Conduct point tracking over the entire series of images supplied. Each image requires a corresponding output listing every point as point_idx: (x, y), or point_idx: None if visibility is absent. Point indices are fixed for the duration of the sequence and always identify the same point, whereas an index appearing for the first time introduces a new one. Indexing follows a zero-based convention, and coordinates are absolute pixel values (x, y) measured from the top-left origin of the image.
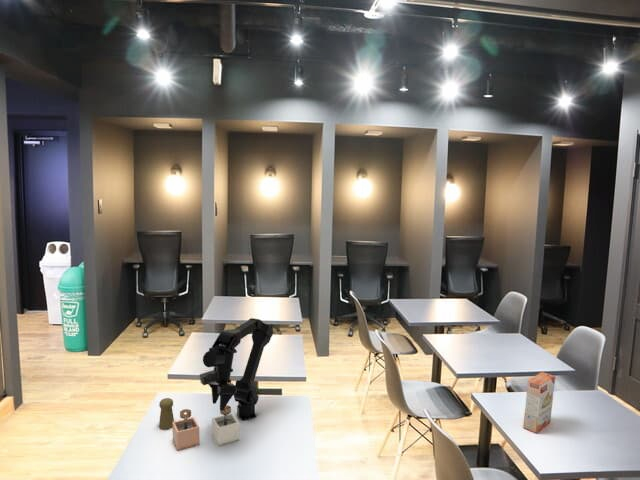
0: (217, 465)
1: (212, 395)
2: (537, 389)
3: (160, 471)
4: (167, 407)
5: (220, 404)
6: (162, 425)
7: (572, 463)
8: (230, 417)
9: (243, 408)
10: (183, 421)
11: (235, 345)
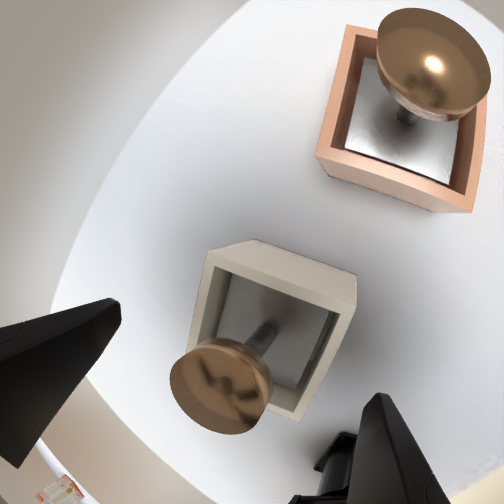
0: (155, 162)
1: (407, 463)
2: (40, 495)
3: (263, 2)
4: None
5: (52, 315)
6: None
7: None
8: (299, 397)
9: (341, 475)
10: (472, 132)
11: None
